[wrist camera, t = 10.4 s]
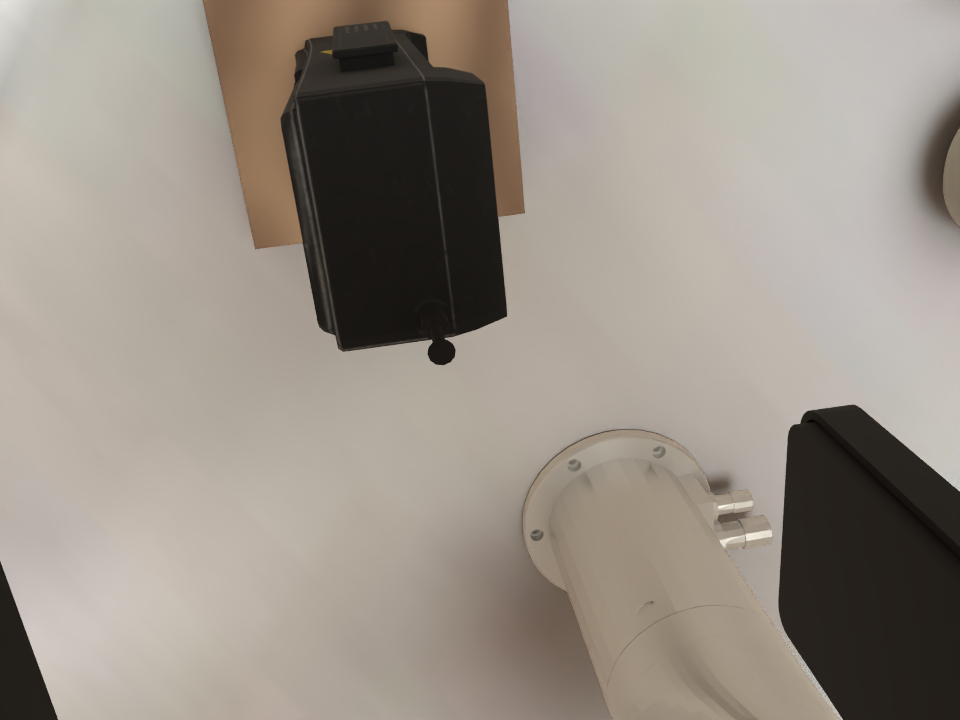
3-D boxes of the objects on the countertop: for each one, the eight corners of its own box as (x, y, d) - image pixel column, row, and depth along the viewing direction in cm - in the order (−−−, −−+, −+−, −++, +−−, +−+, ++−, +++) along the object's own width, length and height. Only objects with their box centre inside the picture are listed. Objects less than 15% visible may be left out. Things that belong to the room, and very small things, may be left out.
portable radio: (288, 17, 42) (213, 69, 19) (417, 2, 42) (495, 36, 19) (317, 184, 45) (284, 401, 22) (437, 168, 45) (525, 365, 23)
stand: (489, -80, 44) (500, -85, 41) (513, 197, 50) (524, 213, 47) (203, -50, 43) (191, -52, 40) (261, 230, 49) (255, 249, 46)
